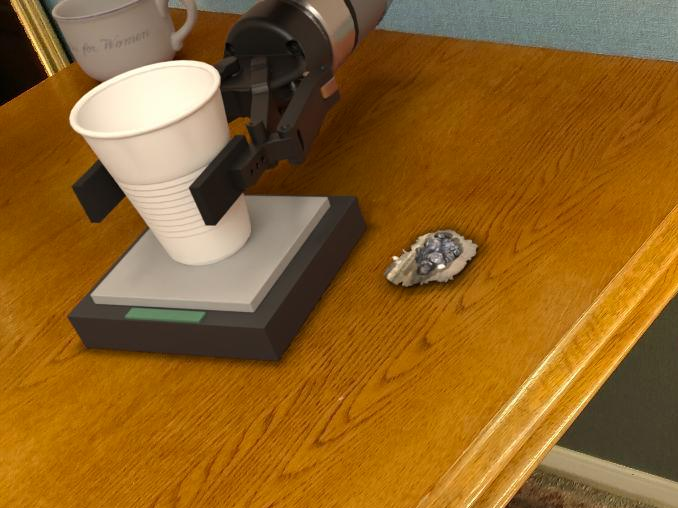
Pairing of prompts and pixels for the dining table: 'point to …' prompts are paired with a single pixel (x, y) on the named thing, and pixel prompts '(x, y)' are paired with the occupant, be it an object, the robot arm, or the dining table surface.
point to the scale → (225, 285)
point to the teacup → (121, 33)
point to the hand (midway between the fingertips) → (143, 205)
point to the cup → (165, 152)
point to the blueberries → (432, 259)
